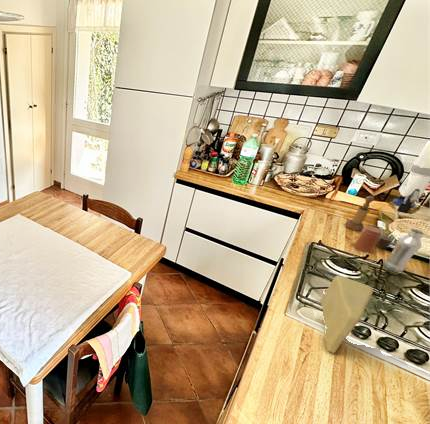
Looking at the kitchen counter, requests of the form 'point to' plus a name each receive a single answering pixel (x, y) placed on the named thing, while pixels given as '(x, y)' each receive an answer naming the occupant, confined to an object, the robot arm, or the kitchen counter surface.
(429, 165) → the robot arm
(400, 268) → the plastic bottle
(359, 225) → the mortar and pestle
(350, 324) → the cheese
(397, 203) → the jar lid
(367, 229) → the jam jar
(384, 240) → the lid stand
